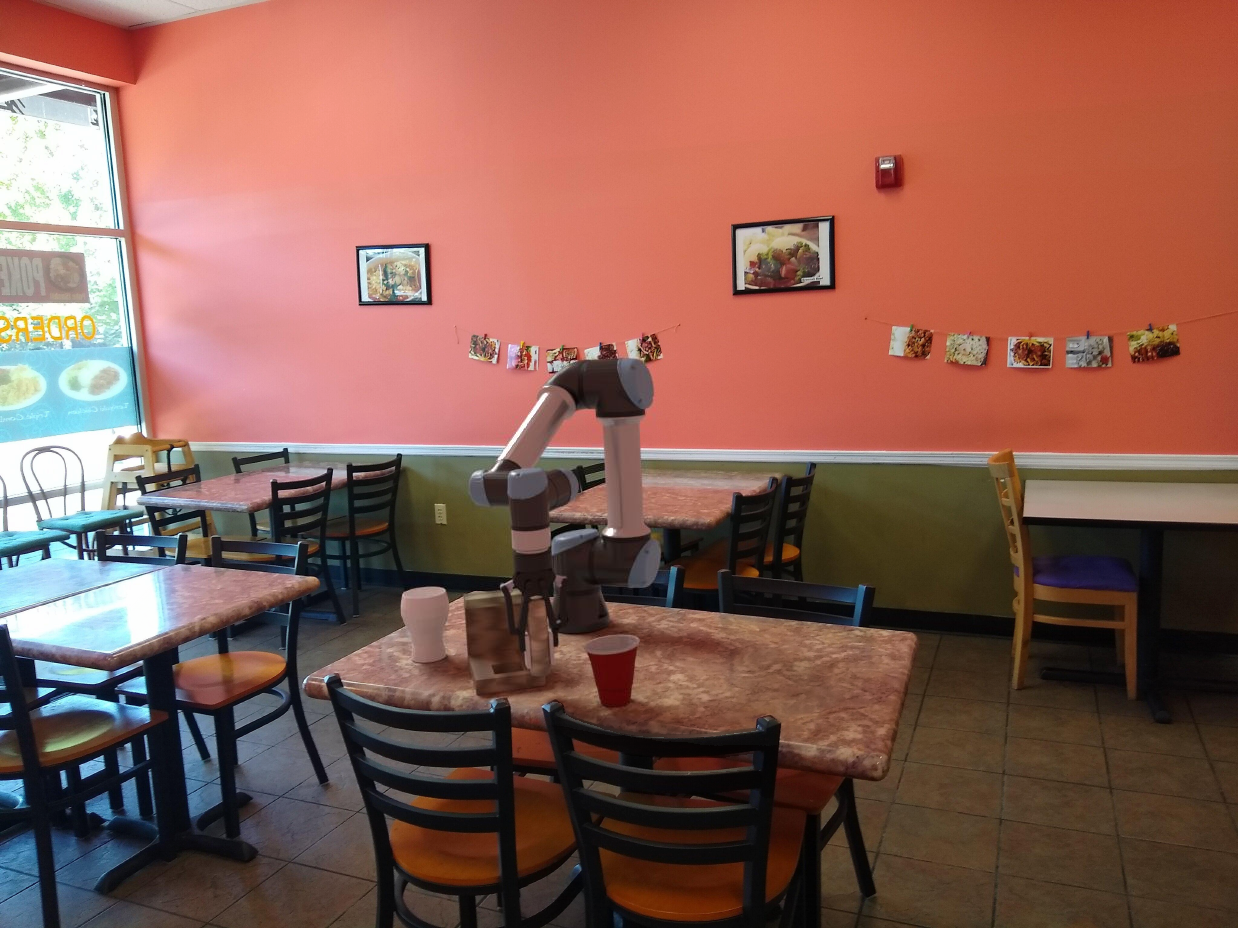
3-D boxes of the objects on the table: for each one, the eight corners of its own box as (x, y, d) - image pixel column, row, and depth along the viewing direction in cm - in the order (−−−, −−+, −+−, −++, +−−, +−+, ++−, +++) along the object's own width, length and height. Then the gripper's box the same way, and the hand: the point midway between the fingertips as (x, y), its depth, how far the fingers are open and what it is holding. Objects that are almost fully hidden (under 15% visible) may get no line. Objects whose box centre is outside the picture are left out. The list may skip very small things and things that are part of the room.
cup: (441, 665, 201) (437, 599, 199) (396, 664, 203) (391, 598, 201) (459, 649, 211) (455, 586, 210) (416, 648, 214) (411, 585, 212)
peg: (548, 667, 184) (543, 594, 182) (552, 674, 180) (547, 600, 178) (529, 670, 183) (523, 597, 181) (532, 677, 179) (526, 603, 177)
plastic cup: (597, 688, 184) (594, 630, 182) (649, 693, 180) (646, 633, 179) (577, 709, 174) (574, 648, 172) (632, 714, 170) (629, 652, 169)
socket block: (531, 657, 204) (527, 587, 202) (545, 685, 187) (541, 608, 185) (468, 665, 201) (463, 594, 199) (476, 694, 183) (471, 616, 181)
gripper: (571, 539, 183) (578, 652, 187) (485, 549, 179) (494, 663, 183) (579, 548, 176) (586, 664, 180) (490, 558, 172) (499, 677, 176)
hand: (540, 664), depth 181 cm, fingers closed on peg, 4 cm apart
